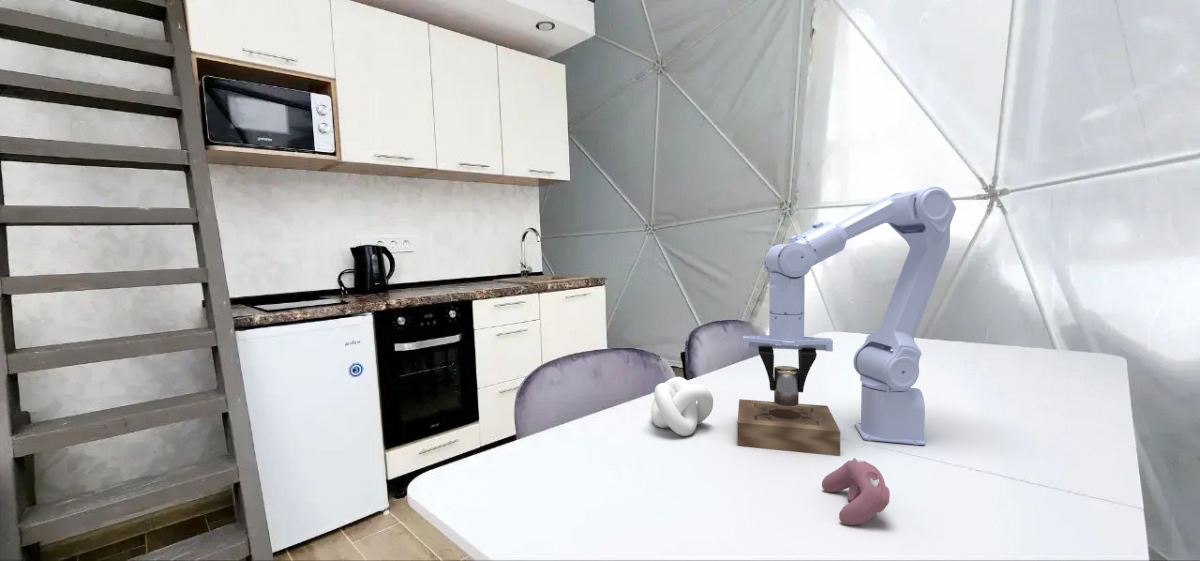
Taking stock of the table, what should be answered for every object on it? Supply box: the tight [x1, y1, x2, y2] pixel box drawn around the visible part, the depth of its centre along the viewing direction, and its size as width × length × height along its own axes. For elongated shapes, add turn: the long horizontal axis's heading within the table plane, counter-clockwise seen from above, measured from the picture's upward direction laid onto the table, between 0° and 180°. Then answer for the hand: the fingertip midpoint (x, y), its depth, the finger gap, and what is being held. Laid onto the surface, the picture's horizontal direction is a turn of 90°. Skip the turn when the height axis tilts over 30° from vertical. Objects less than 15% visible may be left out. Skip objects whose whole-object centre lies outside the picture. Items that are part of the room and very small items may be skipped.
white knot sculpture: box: [650, 376, 714, 437], centre depth 93 cm, size 11×12×9 cm
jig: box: [736, 398, 841, 457], centre depth 88 cm, size 16×14×4 cm
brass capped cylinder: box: [773, 365, 800, 406], centre depth 86 cm, size 4×4×6 cm
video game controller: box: [821, 457, 891, 526], centre depth 63 cm, size 10×5×7 cm, turn 169°
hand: (786, 390), depth 86 cm, fingers closed on brass capped cylinder, 4 cm apart
